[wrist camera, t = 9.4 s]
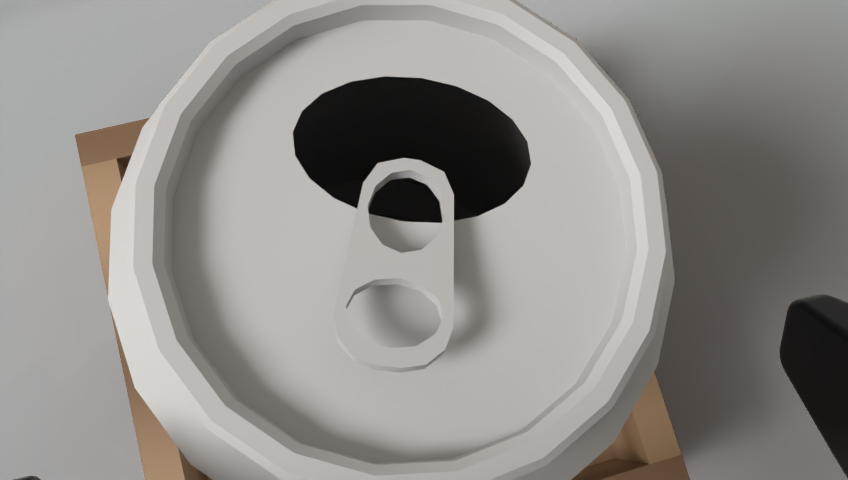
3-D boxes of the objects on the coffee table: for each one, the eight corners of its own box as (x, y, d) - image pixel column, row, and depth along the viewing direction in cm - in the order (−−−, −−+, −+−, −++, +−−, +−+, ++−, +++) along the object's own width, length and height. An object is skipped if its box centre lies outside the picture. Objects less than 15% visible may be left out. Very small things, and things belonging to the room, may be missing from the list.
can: (531, 206, 21) (741, -39, 10) (508, 492, 20) (726, 610, 8) (256, 170, 21) (129, -131, 9) (208, 459, 19) (-18, 534, 8)
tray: (646, 478, 21) (693, 489, 18) (207, 615, 19) (180, 652, 16) (518, 78, 23) (541, 30, 20) (113, 172, 21) (74, 135, 18)
